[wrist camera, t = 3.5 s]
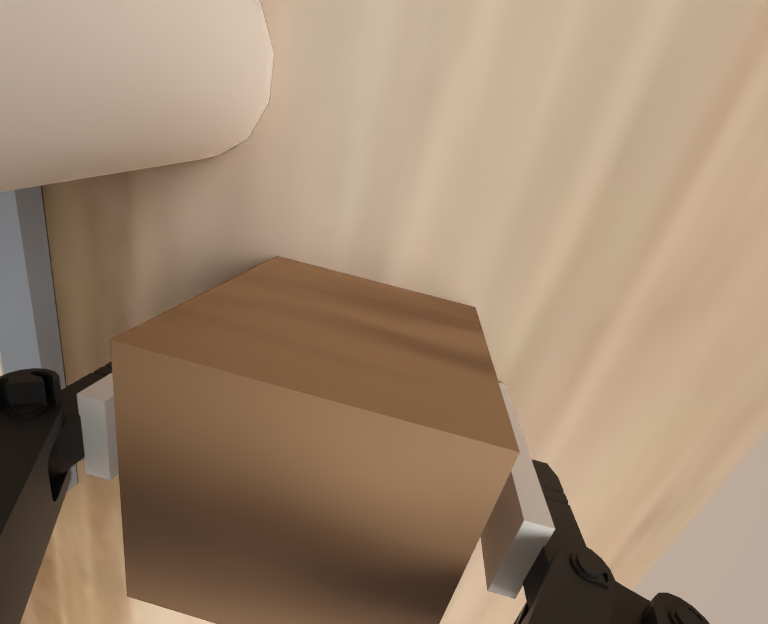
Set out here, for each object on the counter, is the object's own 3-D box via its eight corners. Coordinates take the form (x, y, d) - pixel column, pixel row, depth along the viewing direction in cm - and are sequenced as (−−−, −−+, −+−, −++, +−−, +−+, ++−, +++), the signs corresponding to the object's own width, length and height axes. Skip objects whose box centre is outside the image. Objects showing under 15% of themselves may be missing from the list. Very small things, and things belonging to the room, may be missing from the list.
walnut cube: (278, 255, 14) (109, 339, 7) (475, 306, 14) (519, 452, 7) (259, 416, 17) (127, 596, 10) (421, 461, 17) (410, 683, 10)
